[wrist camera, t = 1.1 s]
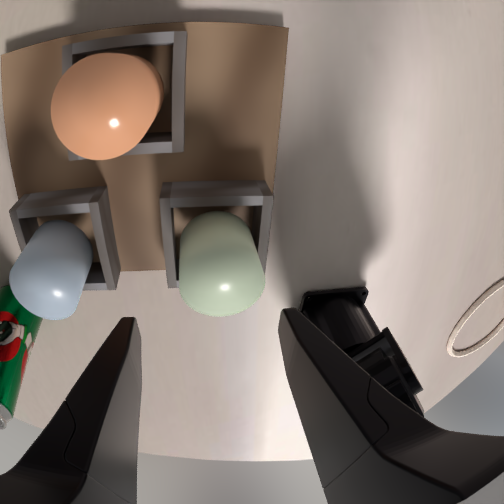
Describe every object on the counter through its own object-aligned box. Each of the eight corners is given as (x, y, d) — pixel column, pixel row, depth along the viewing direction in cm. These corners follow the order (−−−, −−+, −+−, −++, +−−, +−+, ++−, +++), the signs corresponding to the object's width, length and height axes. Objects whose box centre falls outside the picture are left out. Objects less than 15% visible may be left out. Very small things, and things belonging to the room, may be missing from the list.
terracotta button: (165, 50, 13) (155, 47, 9) (164, 133, 15) (156, 156, 12) (80, 60, 12) (48, 63, 9) (84, 140, 14) (56, 165, 11)
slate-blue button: (85, 217, 17) (65, 256, 13) (99, 276, 19) (86, 320, 16) (25, 222, 16) (-2, 259, 13) (43, 277, 18) (25, 318, 15)
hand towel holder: (452, 352, 34) (551, 256, 28) (436, 329, 37) (533, 239, 32) (462, 382, 43) (543, 309, 37) (452, 364, 46) (530, 294, 41)
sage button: (254, 210, 19) (269, 248, 15) (249, 270, 21) (261, 313, 18) (178, 212, 18) (176, 251, 14) (182, 273, 20) (182, 318, 17)
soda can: (-9, 284, 21) (-59, 391, 11) (29, 277, 22) (-21, 397, 12) (15, 323, 24) (-19, 427, 14) (53, 319, 25) (23, 435, 15)
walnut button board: (284, 29, 15) (301, 24, 13) (262, 257, 25) (271, 286, 22) (8, 54, 12) (-20, 57, 9) (44, 266, 21) (31, 294, 19)
